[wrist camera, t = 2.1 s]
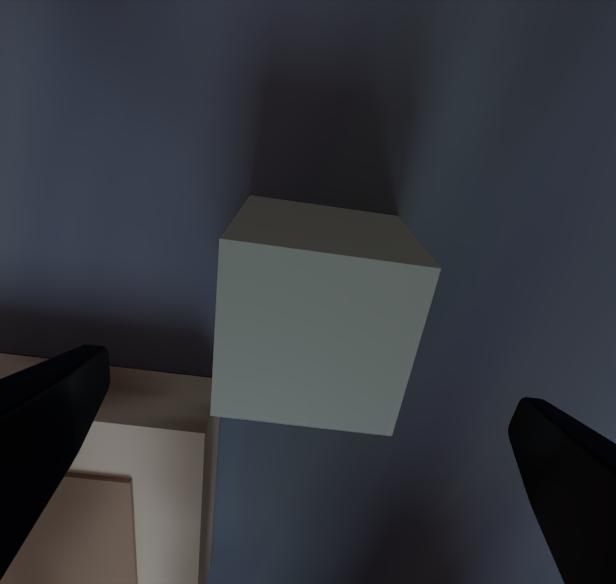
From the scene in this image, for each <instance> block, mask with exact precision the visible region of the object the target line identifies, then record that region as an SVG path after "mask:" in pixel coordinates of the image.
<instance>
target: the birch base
mask: <svg viewBox="0 0 616 584" xmlns="http://www.w3.org/2000/svg"><path fill="white" fill-rule="evenodd" d="M45 360H48V359H46V358H38V357H29V356H21V355H12V354H4V353H0V379H1V378H3V377H6V376H8V375H11V374H13V373H16V372H18V371H21V370H23V369H26V368H28V367H31V366H33V365H36V364H38V363H40V362H43V361H45ZM211 391H212V378H207V377H199V376H190V375H182V374H173V373H165V372H156V371H148V370H139V369H131V368H123V367H114V366H110V386H109V389H108V392H107V394H106V396H105V398H104V400H103V402H102V404H101V407H100V409H99V411H98V413H97V415H96V417H95V419H94V421H93V424H92V426H91V428H90V430H89V432H88V434H87V436H86V438H85V441H84V443H83V445H82V447H81V449H80V451H79V453H78V455H77V456H76V458H75V460H74V461H73V463H72V465H71V467H70V468H69V470H68V471H67V473H66V475H65V476H64V478H63V480H62V481H61V483H60V485H59V486H58V488H57V489H56V491H55V493H54V494H53V496H52V498H51V499H50V501H49V503H48V504H47V506H46V507H45V509H44V511H43V512H42V514H41V516H40V517H39V519H38V520H37V522H36V524H35V525H34V527H33V529H32V530H31V532H30V534H29V535H28V537H27V538H26V540H25V542H24V543H23V545H22V547H21V548H20V550H19V551H18V553H17V555H16V556H15V558H14V560H13V561H12V563H11V565H10V566H9V568H8V569H7V571H6V573H5V574H4V576H3V578H2V579H1V581H0V584H206V583H207V579H208V574H209V570H210V564H211V548H212V533H213V518H214V502H215V487H216V471H217V456H218V441H219V425H220V417H217V416H210V410H211Z"/></svg>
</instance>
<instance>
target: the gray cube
mask: <svg viewBox="0 0 616 584" xmlns="http://www.w3.org/2000/svg"><path fill="white" fill-rule="evenodd" d="M440 271H441V268H440V266H439V265H438V264H437V263H436V262H435V260H434V259H433V258H432V257H431V255H430V254H429V253H428V252H427V251H426V249H425V248H424V247H423V246H422V244H421V243H420V242H419V241H418V239H417V238H416V237H415V236H414V235H413V233H412V232H411V231H410V230H409V228H408V227H407V226H406V225H405V224H404V222H403V221H402V220H401V219H400V217H399V216H395V215H388V214H381V213H374V212H367V211H360V210H353V209H345V208H338V207H331V206H324V205H317V204H310V203H303V202H296V201H289V200H282V199H275V198H268V197H261V196H254V195H250V196H249V197H248V198H247V200H246V201H245V203H244V204H243V206H242V207H241V208H240V210H239V211H238V213H237V214H236V216H235V217H234V218H233V220H232V221H231V223H230V224H229V226H228V227H227V228H226V230H225V231H224V233H223V234H222V236H221V237H220V238H219V256H218V275H217V295H216V314H215V333H214V352H213V372H212V391H211V410H210V416H217V417H226V418H235V419H244V420H252V421H261V422H270V423H279V424H288V425H297V426H306V427H314V428H323V429H332V430H341V431H350V432H359V433H368V434H376V435H385V436H392V434H393V430H394V427H395V424H396V420H397V417H398V414H399V410H400V407H401V403H402V400H403V397H404V393H405V390H406V386H407V383H408V380H409V376H410V373H411V370H412V366H413V363H414V359H415V356H416V353H417V349H418V346H419V342H420V339H421V336H422V332H423V329H424V325H425V322H426V319H427V315H428V312H429V309H430V305H431V302H432V298H433V295H434V292H435V288H436V285H437V281H438V278H439V275H440Z"/></svg>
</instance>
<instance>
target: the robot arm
mask: <svg viewBox="0 0 616 584" xmlns="http://www.w3.org/2000/svg"><path fill="white" fill-rule="evenodd" d="M109 386H110V365H109V353H108V350H107V348H106V347H104V346H98V345H90V344H86V345H83V346H80V347H78V348H75V349H73V350H70V351H68V352H65V353H63V354H60V355H58V356H55V357H53V358H50V359H48V360H45V361H43V362H40V363H38V364H36V365H33V366H31V367H28V368H26V369H23V370H21V371H18V372H16V373H13V374H11V375H8V376H6V377H3V378H1V379H0V581H1V579H2V578H3V576H4V574H5V573H6V571H7V569H8V568H9V566H10V565H11V563H12V561H13V560H14V558H15V556H16V555H17V553H18V551H19V550H20V548H21V547H22V545H23V543H24V542H25V540H26V538H27V537H28V535H29V534H30V532H31V530H32V529H33V527H34V525H35V524H36V522H37V520H38V519H39V517H40V516H41V514H42V512H43V511H44V509H45V507H46V506H47V504H48V503H49V501H50V499H51V498H52V496H53V494H54V493H55V491H56V489H57V488H58V486H59V485H60V483H61V481H62V480H63V478H64V476H65V475H66V473H67V471H68V470H69V468H70V467H71V465H72V463H73V461H74V460H75V458H76V456H77V455H78V453H79V451H80V449H81V447H82V445H83V443H84V441H85V438H86V436H87V434H88V432H89V430H90V428H91V426H92V424H93V421H94V419H95V417H96V415H97V413H98V411H99V409H100V407H101V404H102V402H103V400H104V398H105V396H106V394H107V392H108V389H109ZM508 435H509V439H510V442H511V446H512V449H513V452H514V455H515V458H516V461H517V464H518V468H519V471H520V474H521V477H522V480H523V483H524V486H525V490H526V493H527V495H528V498H529V501H530V504H531V506H532V509H533V511H534V514H535V516H536V518H537V521H538V523H539V525H540V528H541V530H542V532H543V535H544V537H545V539H546V542H547V544H548V546H549V549H550V551H551V553H552V556H553V558H554V560H555V563H556V565H557V567H558V570H559V572H560V574H561V577H562V579H563V581H564V584H616V444H615V443H614V442H612V441H610V440H609V439H607V438H606V437H604V436H602V435H601V434H599V433H597V432H596V431H594V430H592V429H591V428H589V427H588V426H586V425H584V424H583V423H581V422H579V421H578V420H576V419H575V418H573V417H571V416H570V415H568V414H566V413H565V412H563V411H562V410H560V409H558V408H557V407H555V406H553V405H552V404H550V403H548V402H547V401H545V400H543V399H539V398H530V397H524V398H522V399H521V400H520V401H519V403H518V405H517V408H516V410H515V412H514V415H513V417H512V419H511V421H510V424H509V427H508Z"/></svg>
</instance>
